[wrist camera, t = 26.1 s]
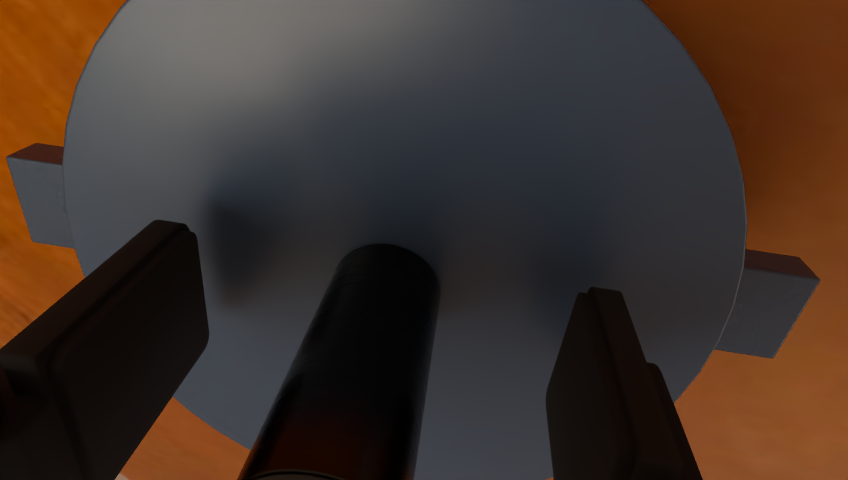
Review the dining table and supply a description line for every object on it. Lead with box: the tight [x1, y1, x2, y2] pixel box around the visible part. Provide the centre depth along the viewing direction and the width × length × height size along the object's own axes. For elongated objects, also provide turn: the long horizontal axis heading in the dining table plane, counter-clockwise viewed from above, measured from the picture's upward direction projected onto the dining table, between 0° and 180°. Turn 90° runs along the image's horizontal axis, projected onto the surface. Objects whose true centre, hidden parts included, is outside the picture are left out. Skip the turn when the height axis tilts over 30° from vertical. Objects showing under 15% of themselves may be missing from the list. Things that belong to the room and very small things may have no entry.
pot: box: [6, 143, 820, 358], centre depth 15 cm, size 14×19×6 cm
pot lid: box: [62, 0, 747, 480], centre depth 10 cm, size 15×15×7 cm
